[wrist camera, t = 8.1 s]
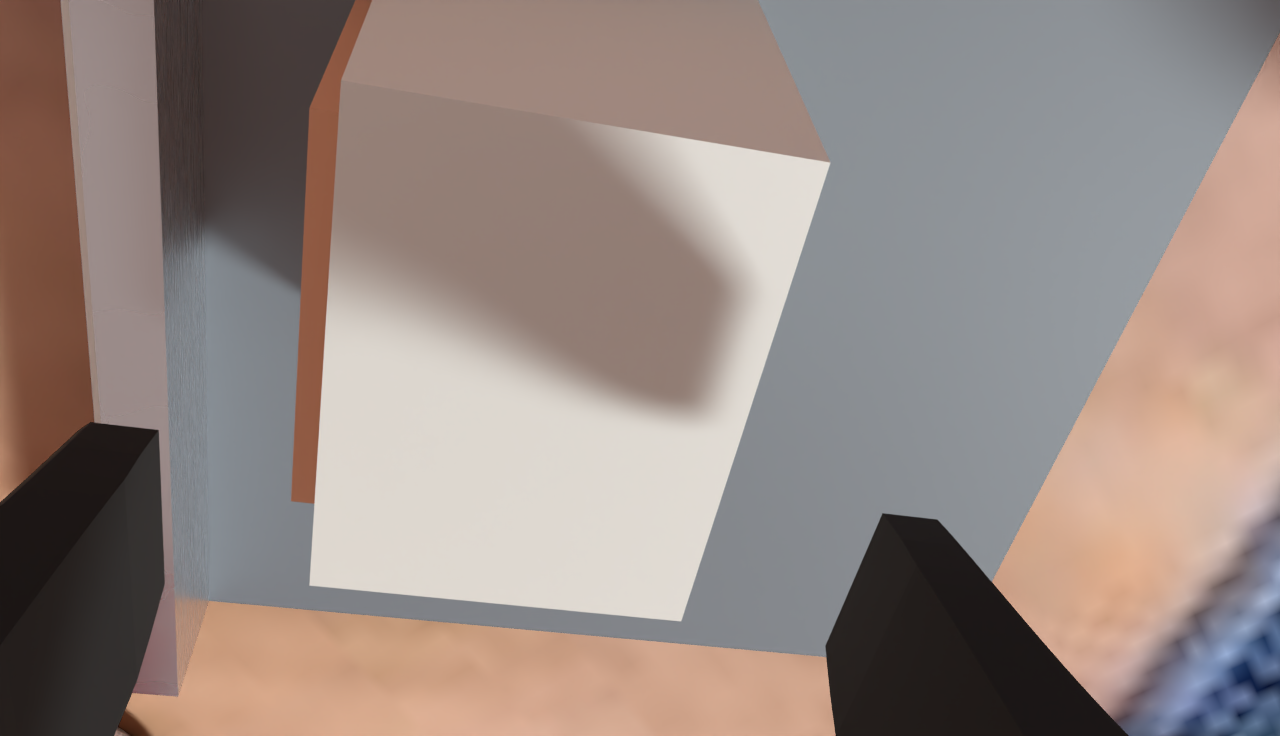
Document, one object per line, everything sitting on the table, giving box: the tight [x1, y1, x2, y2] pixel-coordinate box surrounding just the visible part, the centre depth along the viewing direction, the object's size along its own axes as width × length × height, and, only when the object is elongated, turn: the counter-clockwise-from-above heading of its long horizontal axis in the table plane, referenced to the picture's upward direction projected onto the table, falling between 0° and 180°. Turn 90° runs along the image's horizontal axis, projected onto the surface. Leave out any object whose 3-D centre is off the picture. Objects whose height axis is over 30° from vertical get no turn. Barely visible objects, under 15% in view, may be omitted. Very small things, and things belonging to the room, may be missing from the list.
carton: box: [291, 0, 830, 621], centre depth 16 cm, size 5×7×6 cm
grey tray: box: [60, 0, 1280, 696], centre depth 19 cm, size 17×17×3 cm
